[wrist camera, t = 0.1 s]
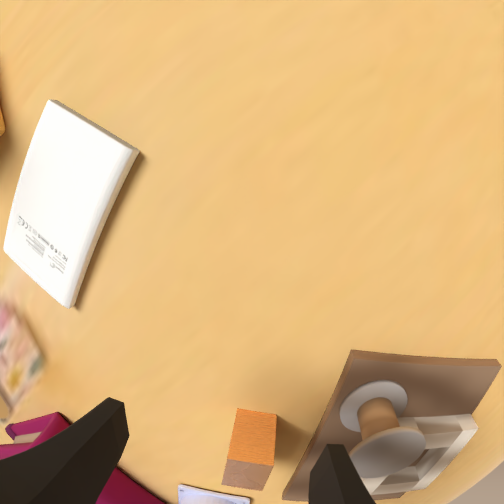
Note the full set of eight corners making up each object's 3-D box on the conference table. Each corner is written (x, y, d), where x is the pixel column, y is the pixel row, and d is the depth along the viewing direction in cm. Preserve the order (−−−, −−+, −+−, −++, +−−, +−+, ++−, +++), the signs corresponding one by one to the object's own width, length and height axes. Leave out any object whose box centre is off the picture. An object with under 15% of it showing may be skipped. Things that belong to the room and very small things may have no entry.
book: (62, 407, 25) (27, 452, 18) (214, 526, 30) (205, 566, 23) (7, 423, 30) (-17, 451, 22) (125, 522, 35) (114, 551, 28)
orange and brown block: (266, 443, 22) (262, 490, 17) (231, 437, 22) (221, 484, 17) (276, 414, 21) (273, 465, 16) (237, 408, 21) (227, 458, 16)
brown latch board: (398, 491, 24) (406, 530, 18) (282, 492, 25) (279, 538, 19) (496, 359, 18) (530, 402, 12) (351, 349, 19) (370, 414, 13)
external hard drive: (144, 150, 17) (78, 302, 20) (61, 100, 16) (13, 243, 20) (132, 150, 15) (67, 311, 19) (46, 98, 15) (0, 249, 18)
